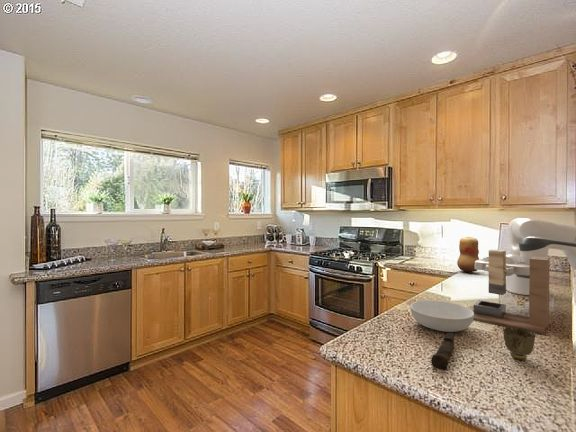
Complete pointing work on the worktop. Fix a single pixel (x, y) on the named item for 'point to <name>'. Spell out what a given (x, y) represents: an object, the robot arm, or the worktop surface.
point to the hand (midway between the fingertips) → (496, 269)
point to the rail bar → (497, 271)
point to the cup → (519, 342)
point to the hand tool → (443, 352)
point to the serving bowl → (442, 315)
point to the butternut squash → (468, 254)
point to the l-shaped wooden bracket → (537, 303)
